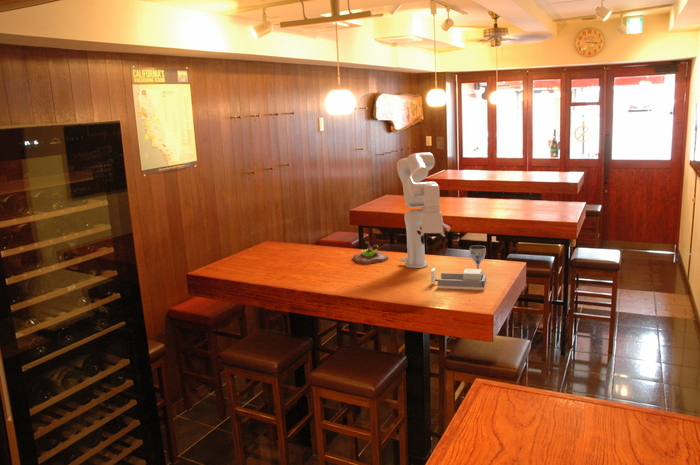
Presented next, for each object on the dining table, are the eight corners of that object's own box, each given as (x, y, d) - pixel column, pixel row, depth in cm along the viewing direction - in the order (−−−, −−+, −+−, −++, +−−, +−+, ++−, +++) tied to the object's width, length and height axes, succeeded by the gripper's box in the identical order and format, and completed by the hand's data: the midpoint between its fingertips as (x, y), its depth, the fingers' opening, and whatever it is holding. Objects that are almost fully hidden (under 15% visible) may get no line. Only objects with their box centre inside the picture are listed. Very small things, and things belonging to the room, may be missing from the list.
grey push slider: (430, 284, 278) (430, 271, 277) (433, 279, 286) (433, 267, 284) (480, 285, 271) (480, 273, 270) (481, 280, 278) (481, 268, 277)
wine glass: (474, 278, 287) (474, 249, 284) (467, 274, 294) (466, 246, 291) (488, 276, 289) (488, 247, 286) (481, 272, 296) (481, 244, 293)
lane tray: (437, 288, 276) (437, 279, 275) (441, 280, 287) (441, 272, 286) (484, 289, 269) (484, 281, 268) (486, 282, 280) (486, 274, 279)
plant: (378, 254, 347) (377, 236, 345) (392, 261, 330) (391, 242, 327) (348, 258, 341) (346, 240, 338) (360, 266, 323) (359, 247, 320)
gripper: (412, 210, 273) (414, 245, 277) (449, 210, 268) (449, 245, 272) (415, 208, 280) (417, 241, 284) (451, 207, 275) (451, 242, 279)
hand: (433, 243), depth 278 cm, fingers open, 9 cm apart
